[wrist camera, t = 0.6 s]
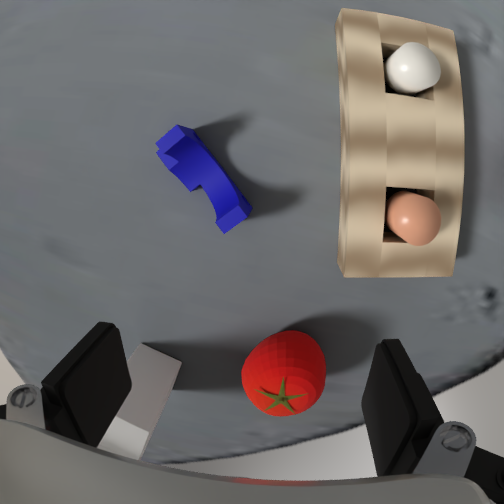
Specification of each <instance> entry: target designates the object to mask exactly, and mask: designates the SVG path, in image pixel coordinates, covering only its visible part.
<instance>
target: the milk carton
mask: <svg viewBox="0 0 504 504" xmlns="http://www.w3.org/2000/svg"><path fill="white" fill-rule="evenodd" d="M181 364H182V362H181V361H179V360H176V359H174V358H172V357H170V356H167V355H165V354H163V353H161V352H159V351H157V350H154V349H152V348H150V347H148V346H146V345H144V344H142V343H140V344H139V345H138V347H137V348H136V350H135V351H134V352H133V354H132V355H131V357H130V358H129V359H128V361H127V366H128V369H129V373H130V377H131V381H132V388H131V391H130V393H129V394H128V396H127V398H126V399H125V401H124V403H123V404H122V406H121V408H120V409H119V411H118V413H117V414H116V416H115V418H114V419H113V421H112V423H111V424H110V426H109V428H108V430H107V431H106V433H105V435H104V436H103V438H102V440H101V442H100V443H99V445H98V447H97V448H98V449H101V450H105V451H108V452H111V453H114V454H118V455H121V456H125V457H128V458H132V459H136V460H140V459H141V457H142V455H143V453H144V451H145V448H146V446H147V444H148V442H149V439H150V437H151V435H152V433H153V431H154V428H155V426H156V424H157V422H158V420H159V417H160V415H161V413H162V411H163V409H164V406H165V404H166V402H167V400H168V398H169V395H170V393H171V391H172V388H173V386H174V383H175V380H176V377H177V375H178V372H179V369H180V367H181Z"/></svg>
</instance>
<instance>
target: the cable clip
mask: <svg viewBox="0 0 504 504" xmlns="http://www.w3.org/2000/svg"><path fill="white" fill-rule="evenodd" d="M155 144H156V145H157V146H158V148H159V150H158V151H157V152H156V153H157V155H158V156H159V157H160V159H161V160H162V162H163V163H164V164H165V166H166V167H167V168H168V170H169V171H171V172H172V173H173V174H174V175H175V176H176V177H178V178H179V179H180V181H181V182H182V183H183V184H184V185H185V186H186V187H187V188H188V190H189V191H190V192H191V191H193V190H195V189H196V188H197V187H198V186H200V185H201V186H202V188H203V189H204V190H205V192H206V194H207V195H208V197H209V199H210V200H211V202H212V204H213V206H214V209H215V212H216V217H217V219H216V222H215V223H216V224H217V226H218V227H219V228H220V229H221V231H222V232H223V233H224V234H225V233H226V232H228V231H229V230H230V229H232V228H233V227H234V226H236V225H237V224H239V223H240V222H241V221H243V220H244V219H246V218H247V217H248V215H249V214H250V212H251V210H252V209H253V208H252V207H251V205H250V204H249V203H248V201H247V200H246V199H245V197H244V196H243V195H242V193H241V192H240V191H239V189H238V188H237V187H236V185H235V184H234V183H233V181H232V180H231V179H230V177H229V176H228V175H227V173H226V172H225V171H224V169H223V168H222V167H221V165H220V164H219V163H218V162H217V160H216V159H215V158H214V156H213V155H212V154H211V152H210V151H209V150H208V149H207V147H206V146H205V145H204V143H203V142H202V141H201V139H200V138H199V137H198V136H197V134H196V133H195V132H194V130H193V129H190V128H187V127H183V126H180V125H176V126H175V127H173V128H172V129H171V130H170V131H169V132H168V133H166V134H165V135H164V136H163V137H162V138H161V139H160V140H158V141H157V142H156V143H155Z"/></svg>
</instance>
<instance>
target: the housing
mask: <svg viewBox="0 0 504 504" xmlns="http://www.w3.org/2000/svg"><path fill="white" fill-rule="evenodd" d="M335 31H336V42H337V55H338V70H339V89H340V116H341V193H340V221H339V241H338V257H337V263H338V265H339V267H340V269H341V271H342V274H343V276H344V277H445V276H452V275H453V269H454V263H455V257H456V251H457V244H458V237H459V229H460V220H461V210H462V199H463V183H464V113H463V98H462V86H461V77H460V69H459V61H458V55H457V48H456V42H455V37H454V32H453V30H449V29H446V28H443V27H439V26H436V25H432V24H428V23H424V22H420V21H416V20H412V19H407V18H403V17H398V16H393V15H388V14H382V13H376V12H369V11H362V10H355V9H346V8H341V11H340V13H339V16H338V18H337V21H336V23H335ZM408 42H416V43H420V44H422V45H424V46H426V47H427V48H429V49H430V50H431V51H432V52H433V53H434V54H435V56H436V57H437V59H438V61H439V64H440V68H441V75H440V78H439V80H438V82H437V83H436V84H435V85H433V86H431V87H429V88H427V89H424V90H422V91H420V92H417V93H416V96H417V98H416V97H410V96H404V95H397V94H390V93H385V81H384V68H383V58H382V57H384V58H389V57H390V56H391V55H392V54H393V53H394V52H395V51H396V50H398V49H399V48H400V47H401V46H402V45H404V44H405V43H408ZM386 187H401V188H415V189H417V194H418V195H421V196H424V197H427V198H429V199H431V200H433V201H434V202H435V203H436V205H437V206H438V208H439V210H440V213H441V226H440V230H439V232H438V234H437V235H436V237H435V238H434V239H433V240H432V241H431V242H430V243H428V244H426V245H423V246H414V245H411V244H409V243H408V242H406V241H405V240H404V239H402V238H401V237H399V236H398V235H397V234H395V233H394V232H383V230H384V216H385V199H386Z"/></svg>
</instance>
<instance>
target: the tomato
mask: <svg viewBox="0 0 504 504" xmlns="http://www.w3.org/2000/svg"><path fill="white" fill-rule="evenodd" d="M241 375H242V385H243V387H244V390H245V392H246V394H247V396H248V398H249V399H250V400H251V401H252V403H253V404H254V405H255V406H256V407H257V408H259V409H260V410H261V411H263V412H265V413H267V414H269V415H273V416H289V415H296V414H298V413H301V412H303V411H305V410H307V409H308V408H310V407H311V406H312V405H314V404H315V402H316V401H317V400H318V399H319V397H320V396H321V394H322V392H323V389H324V386H325V378H326V363H325V357H324V354H323V352H322V350H321V348H320V346H319V345H318V344H317V342H316V341H315V340H314V339H313V338H312V337H310V336H309V335H307V334H305V333H303V332H300V331H294V330H290V331H283V332H279V333H276V334H273V335H271V336H269V337H267V338H266V339H264V340H263V341H262V342H260V343H259V344H258V345H257V346H256V347H255V348H254V349H253V350H252V351H251V353H250V354H249V356H248V357H247V359H246V360H245V363H244V365H243V368H242V371H241Z"/></svg>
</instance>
